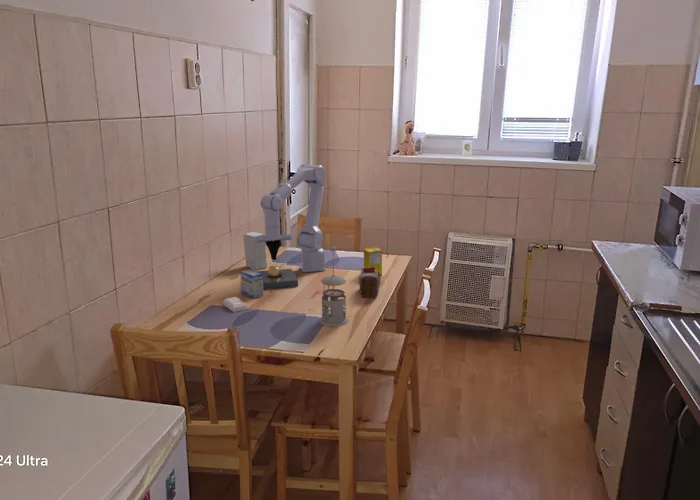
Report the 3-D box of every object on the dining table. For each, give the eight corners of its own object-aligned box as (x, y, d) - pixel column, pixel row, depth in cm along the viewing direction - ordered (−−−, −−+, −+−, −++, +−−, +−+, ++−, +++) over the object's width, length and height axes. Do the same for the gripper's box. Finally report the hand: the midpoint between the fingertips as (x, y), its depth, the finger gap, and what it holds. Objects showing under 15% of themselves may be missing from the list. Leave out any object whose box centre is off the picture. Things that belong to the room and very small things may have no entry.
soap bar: (236, 302, 202) (236, 295, 202) (247, 310, 195) (246, 302, 195) (223, 305, 200) (223, 298, 199) (233, 313, 193) (233, 305, 192)
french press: (325, 328, 178) (324, 251, 172) (312, 316, 189) (311, 243, 182) (353, 323, 182) (353, 248, 176) (339, 311, 192) (339, 240, 186)
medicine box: (241, 294, 210) (239, 271, 208) (250, 291, 214) (249, 269, 211) (254, 298, 205) (253, 276, 203) (264, 295, 208) (262, 273, 206)
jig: (291, 274, 234) (291, 263, 232) (298, 286, 219) (297, 275, 217) (252, 277, 230) (251, 267, 228) (256, 290, 215) (255, 278, 213)
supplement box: (376, 272, 236) (376, 247, 233) (382, 276, 230) (382, 250, 228) (363, 273, 234) (363, 248, 231) (368, 277, 229) (368, 251, 226)
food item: (359, 286, 218) (359, 262, 216) (380, 286, 218) (380, 262, 216) (358, 298, 205) (358, 272, 203) (380, 298, 205) (381, 272, 202)
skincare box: (267, 267, 243) (265, 233, 240) (255, 270, 239) (254, 236, 236) (256, 263, 249) (254, 230, 245) (244, 266, 245) (242, 233, 241)
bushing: (278, 279, 227) (277, 265, 225) (280, 282, 223) (280, 268, 222) (268, 280, 225) (267, 266, 224) (270, 283, 222) (270, 269, 220)
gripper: (287, 221, 224) (288, 254, 228) (251, 225, 219) (253, 258, 223) (292, 225, 218) (293, 259, 222) (255, 228, 213) (257, 263, 216)
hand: (273, 259), depth 222 cm, fingers closed
